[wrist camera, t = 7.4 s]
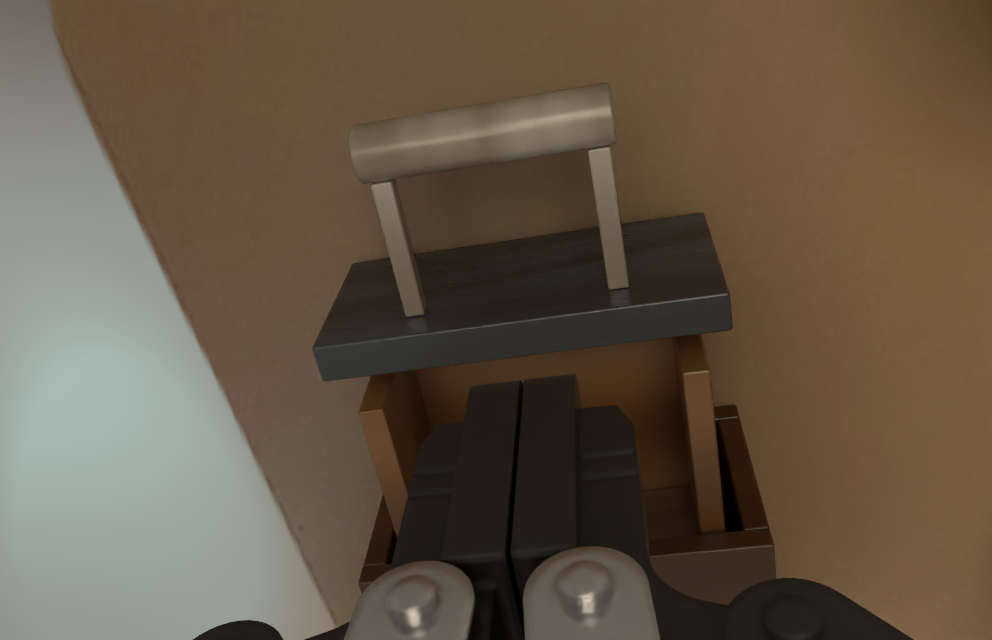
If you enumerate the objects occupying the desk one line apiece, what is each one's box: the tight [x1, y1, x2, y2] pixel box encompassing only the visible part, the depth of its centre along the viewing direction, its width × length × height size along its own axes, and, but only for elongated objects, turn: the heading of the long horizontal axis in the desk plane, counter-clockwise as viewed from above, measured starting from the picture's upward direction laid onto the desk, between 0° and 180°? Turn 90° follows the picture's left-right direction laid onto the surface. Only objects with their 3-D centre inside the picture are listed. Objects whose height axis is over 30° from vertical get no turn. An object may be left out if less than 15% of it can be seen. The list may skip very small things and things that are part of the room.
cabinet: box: [358, 405, 776, 605], centre depth 35 cm, size 12×13×8 cm
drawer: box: [312, 83, 732, 540], centre depth 30 cm, size 17×12×6 cm
